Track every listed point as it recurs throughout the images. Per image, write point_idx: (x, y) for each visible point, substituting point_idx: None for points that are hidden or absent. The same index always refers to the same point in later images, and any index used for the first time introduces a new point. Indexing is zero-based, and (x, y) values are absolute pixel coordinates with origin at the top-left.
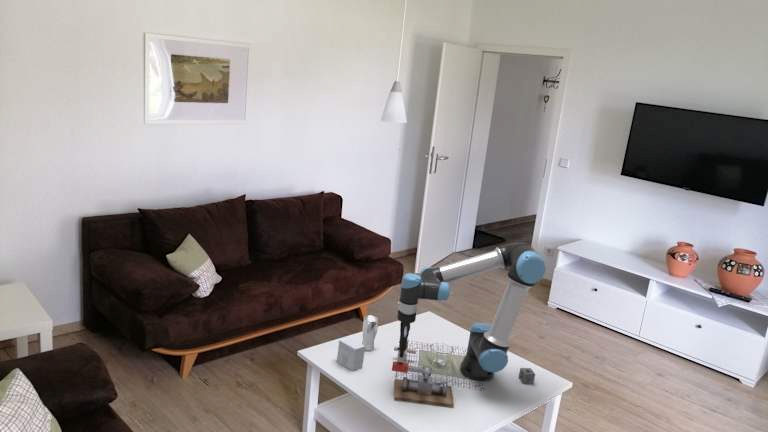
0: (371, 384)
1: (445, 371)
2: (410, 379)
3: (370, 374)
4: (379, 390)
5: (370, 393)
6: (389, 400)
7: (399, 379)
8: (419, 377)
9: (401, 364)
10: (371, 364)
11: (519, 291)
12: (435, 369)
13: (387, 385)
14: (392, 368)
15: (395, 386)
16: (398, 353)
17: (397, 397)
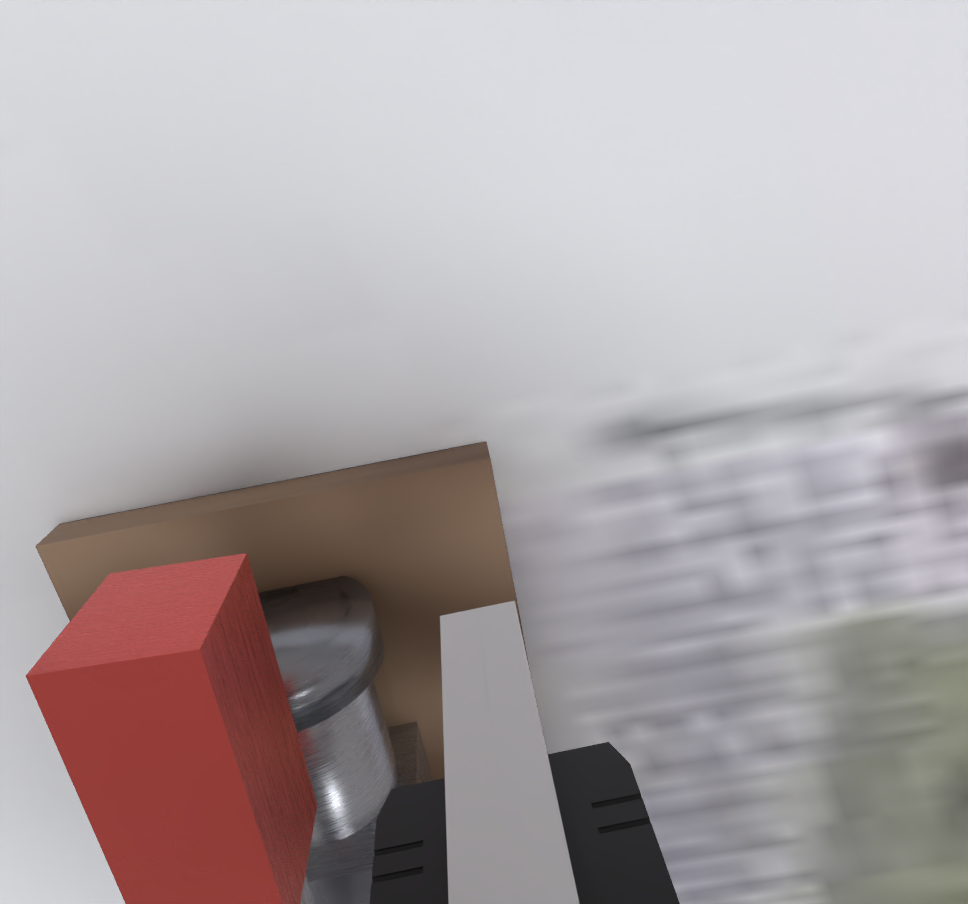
0: (272, 149)
1: (892, 855)
2: (305, 756)
3: (550, 63)
4: (177, 301)
5: (23, 193)
6: (19, 475)
7: (494, 515)
8: (350, 881)
9: (151, 842)
10: (858, 5)
11: None
12: (911, 776)
13: (358, 376)
14: (89, 612)
15: (295, 505)
16: (449, 808)
17: (52, 578)
